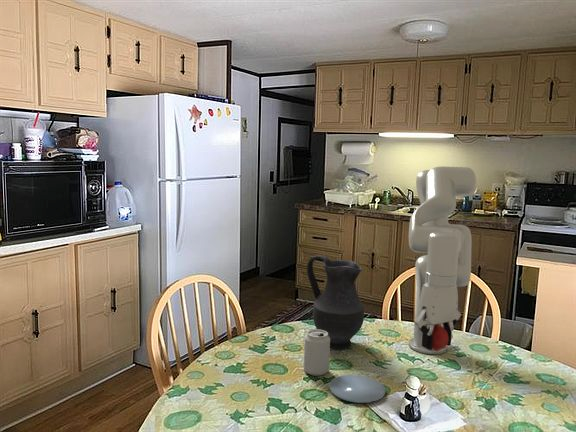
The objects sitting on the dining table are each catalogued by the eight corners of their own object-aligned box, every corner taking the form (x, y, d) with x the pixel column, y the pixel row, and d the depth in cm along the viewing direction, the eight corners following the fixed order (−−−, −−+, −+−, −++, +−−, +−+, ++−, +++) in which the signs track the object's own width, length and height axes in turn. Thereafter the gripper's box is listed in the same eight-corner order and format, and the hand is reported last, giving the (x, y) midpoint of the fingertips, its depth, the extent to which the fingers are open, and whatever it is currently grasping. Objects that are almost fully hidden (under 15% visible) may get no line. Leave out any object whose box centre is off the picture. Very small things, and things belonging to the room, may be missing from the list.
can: (327, 378, 138) (328, 338, 136) (301, 375, 139) (302, 335, 138) (330, 367, 145) (331, 329, 144) (305, 364, 147) (307, 326, 145)
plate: (362, 374, 141) (363, 370, 141) (396, 397, 128) (396, 393, 128) (319, 384, 134) (319, 380, 134) (350, 410, 121) (350, 406, 121)
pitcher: (349, 359, 151) (353, 266, 147) (293, 344, 162) (295, 257, 158) (370, 342, 166) (374, 257, 162) (317, 329, 176) (320, 249, 173)
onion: (435, 357, 123) (437, 327, 122) (419, 348, 128) (421, 320, 127) (452, 353, 125) (454, 324, 124) (436, 345, 130) (438, 316, 129)
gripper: (453, 272, 131) (449, 335, 134) (405, 279, 123) (401, 346, 126) (476, 279, 124) (470, 345, 127) (426, 287, 117) (421, 357, 119)
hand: (436, 345), depth 126 cm, fingers closed on onion, 5 cm apart
